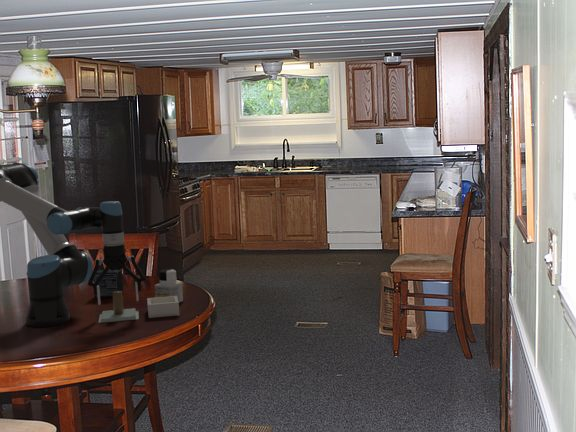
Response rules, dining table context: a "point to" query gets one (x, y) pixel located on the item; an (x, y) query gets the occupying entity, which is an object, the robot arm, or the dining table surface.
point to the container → (168, 285)
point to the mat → (123, 320)
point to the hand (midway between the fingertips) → (118, 302)
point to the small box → (109, 283)
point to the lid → (118, 310)
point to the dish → (163, 306)
